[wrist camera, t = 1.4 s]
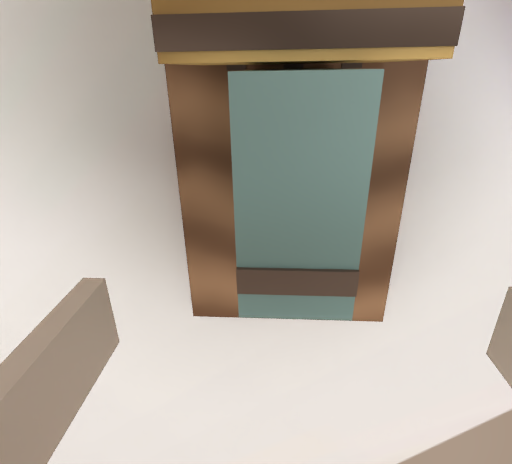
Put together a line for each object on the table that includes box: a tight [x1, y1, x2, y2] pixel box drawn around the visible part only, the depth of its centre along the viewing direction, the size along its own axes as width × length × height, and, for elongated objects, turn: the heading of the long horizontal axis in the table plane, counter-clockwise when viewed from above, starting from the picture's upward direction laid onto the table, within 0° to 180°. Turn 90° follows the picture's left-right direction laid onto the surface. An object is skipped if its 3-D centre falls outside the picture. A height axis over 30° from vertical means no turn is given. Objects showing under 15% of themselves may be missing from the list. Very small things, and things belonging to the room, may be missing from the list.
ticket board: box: [151, 0, 465, 322], centre depth 20 cm, size 26×16×10 cm, turn 1°
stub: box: [228, 69, 384, 321], centre depth 18 cm, size 10×5×11 cm, turn 1°
